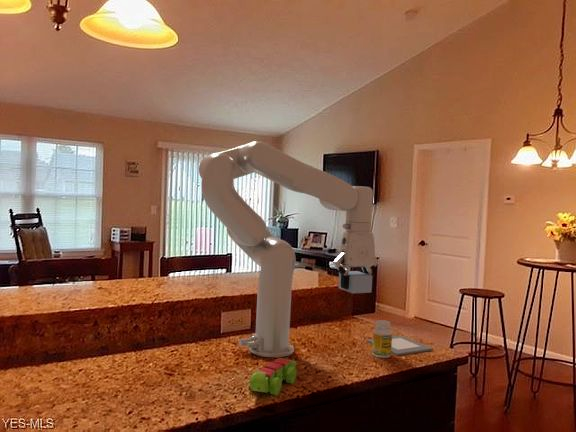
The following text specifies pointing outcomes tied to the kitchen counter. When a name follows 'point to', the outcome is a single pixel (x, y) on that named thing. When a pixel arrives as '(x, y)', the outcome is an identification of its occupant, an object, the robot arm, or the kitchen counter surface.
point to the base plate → (405, 346)
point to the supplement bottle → (382, 339)
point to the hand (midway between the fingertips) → (355, 287)
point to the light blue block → (358, 282)
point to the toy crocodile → (274, 376)
